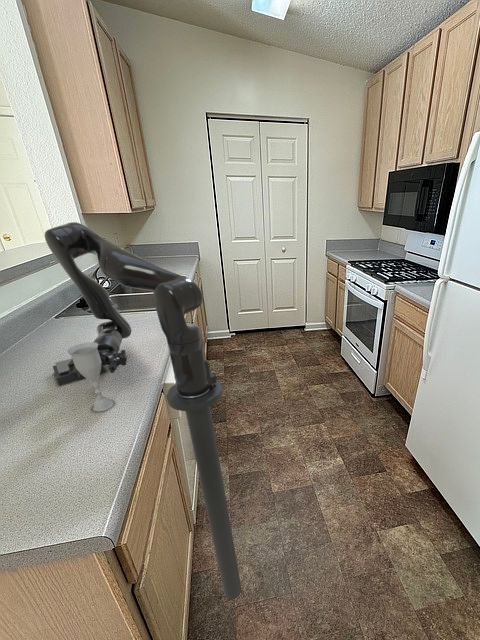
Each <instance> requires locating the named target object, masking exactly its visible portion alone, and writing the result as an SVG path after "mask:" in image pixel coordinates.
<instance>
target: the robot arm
mask: <svg viewBox="0 0 480 640" xmlns="http://www.w3.org/2000/svg"><path fill="white" fill-rule="evenodd" d="M44 241H45V242H46V245H47V247H48V249H49V250H50V252H51V253H52V255H53V256H54V257H55V259H56V260H57V262H58V263H59V265H60V266H61V267H62V269H63V270H64V272H65V273H66V274H67V275H68V277H69V279H70V280H71V281H72V282H73V283H74V285H75V286H76V288H77V289H78V291H79V292H80V294H81V295H82V297H83V299H84V300H85V302H86V305H88V308H89V309H90V311H91V313H92V315H93V317H94V318H95V319H97V320H108V321H104V322H101V323H99V324H98V325H97V326H96V333H97V337H96V338H94V340H93V342H95V343H97V344H98V348H97V350H98V353H99V356H100V359H101V365H102V366H103V367H104V366H108V370H109V373H110V374H114V373H115V372H116V371H117V370H118V368H119V367H120V366H126V365H127V362H128V355H127V352H126V349H122V350H120V349H121V345H122V341H123V340H124V339H128V338H129V337H130V336H131V334H132V327H131V324H130V323H129V322H128V320H127V319H126V318H125V317H124V316H123V315H122V314H121V313H120V311H119V310H118V309H117V308H116V307H115V303H114V302H113V300H112V298H111V296H110V293H109V292H108V290H107V289H106V287H104V286H103V285H102V284H100V283H99V282H98V281H96V280H95V279H93V278H92V277H90V276H88V275H87V274H86V273H85V272H84V271H82V270H81V268H79V266H78V265H77V263H76V261H75V259H78V258H81V257H82V256H85V255H87V254H92V255H95V256H96V258H97V263H98V266H99V269H100V271H101V272H102V273H103V274H104V276H105V277H107V278H109V279H111V280H112V281H114V282H115V283H118V284H119V285H122V286H124V287H127V288H131V289H136V290H141V291H150V292H153V293H152V295H153V297H152V298H153V303H154V306H155V311H156V314H157V317H158V321H159V324H160V328H161V330H162V333H163V334H164V336H165V339H166V343H167V349H168V353H169V357H170V363H171V366H172V371H173V375H174V380H175V384H176V385H177V390H178V395H179V396H180V397H182V398H185V399H194V398H199V397H202V396H204V395H205V394H207V393H208V392H209V391H210V390H212V389H213V387H212V384H215V383H216V381H218V378H217V376H216V375H215V374H214V373H213V372H211V369H210V363H209V360H207V359H206V355H205V350H204V348H205V347H204V343H203V337H202V330H201V328H200V326H199V325H198V324H196V323H190V322H187V321H186V317H185V315H187V314H189V313H191V312H193V311H196V310H197V309H199V308H200V307H201V306H202V304H203V302H204V296H203V292H202V290H201V288H200V287H199V285H198V284H197V283H196V282H195V281H194V280H193V279H190V278H189V277H186V276H184V275H181V274H179V273H176V272H174V271H170V270H167V269H165V268H162V267H160V266H159V265H156V264H155V263H152V262H150V261H148V260H147V259H144V258H142V257H140V256H139V255H136V254H135V253H133V252H131V251H129V250H127V249H125V248H123V247H121V246H119V245H117V244H115V243H113V242H111V241H110V240H107V239H106V238H104V237H103V236H101V235H99V234H98V233H97V232H94V231H93V230H92V229H91V228H88V227H87V226H85V225H84V224H82V223H80V222H76V221H73V222H72V221H71V222H67V223H64V224H60V225H58V226H55V227H51V228H49V229H47V230H45V232H44ZM71 359H72V358H71ZM68 367H69V370H70V372H71V373H72V374H73V376H74V377H75V378H79V377H80V375H81V374H80V372H79V371H78V370H77V369H76V367H75V364H74V362H73V359H72V360H71V361H70V362H69V364H68Z"/></svg>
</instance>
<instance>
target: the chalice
mask: <svg viewBox="0 0 480 640" xmlns="http://www.w3.org/2000/svg"><path fill="white" fill-rule="evenodd" d="M97 348H98V344H97V343H95V342H94V341H89V342H87V341H86V342H82V343H78V344H75V345H73V346H71V347H69V348H68V349H67V350H66V352H67V353H68V354H69V355H70V356H71V359H73V362H74V364H75V367H76V369H77V370H78V371H79V372H80V374H82V375H83V376H84V377H85V378H84V379H86V380H87V381H90V382H91V381H92V383H93V384H92V388H94V390H95V391H94V394H96V395H97V398H95V400H94V401H93V408H92V410H93V411H94V412H105V411H106V410H109V409H110V408H113V405H114V402H113V401H112V400H111V399H110V398H109V397H108V396H104V395H102V389H101V388H100V383H98V381H97V379H99V378H100V375H101V374H100V371H101V359H100V356H99V353H98V350H97Z"/></svg>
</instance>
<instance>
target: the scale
mask: <svg viewBox="0 0 480 640" xmlns="http://www.w3.org/2000/svg"><path fill="white" fill-rule="evenodd" d="M52 369H53V371H54V375H55V378H56V381H57V383H58V386H59V387H60V386H64V385H66V384H71V383H73V382H77V381H80V380H84V379H86V378H85V377H84V376H83V375H82V374H81V375H80V377H79V378H75V377H74V376H73V374H72V373H71V372H70V371H69V372H66V373H62V374H59V372H58V370H57V367H56V364H55V365H52ZM105 373H106V369H105V367H104V366H102V365H101V371H100V375H101V374H105Z"/></svg>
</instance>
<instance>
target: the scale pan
mask: <svg viewBox="0 0 480 640" xmlns="http://www.w3.org/2000/svg"><path fill="white" fill-rule="evenodd" d="M71 360H72V358H67V359H64V360H60V361H57V362H54V364H55V365H56V367H57V370H58V372H59V374H62V373H66V372H69V371H70V370H69V367H68V364H69V362H70V361H71Z"/></svg>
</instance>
